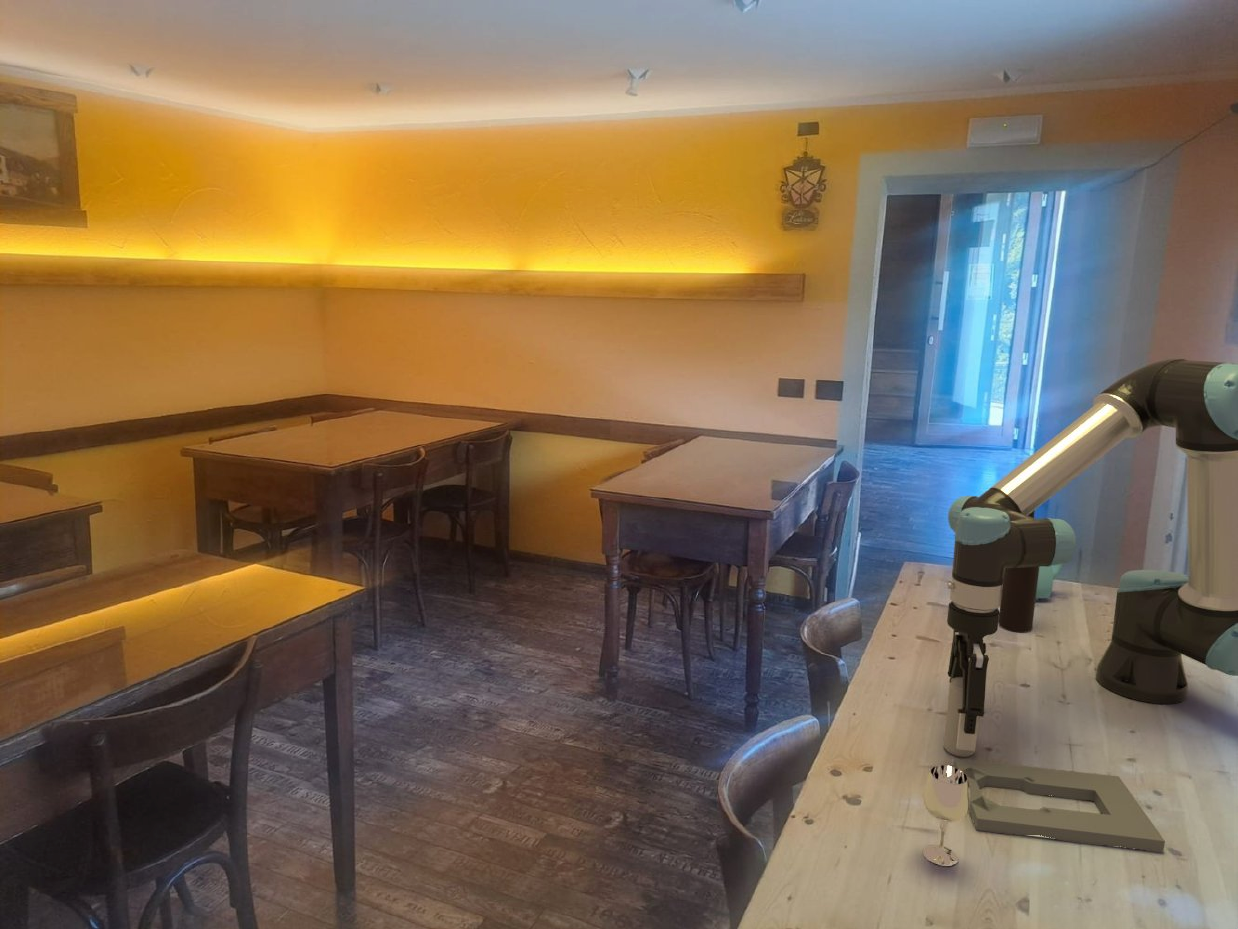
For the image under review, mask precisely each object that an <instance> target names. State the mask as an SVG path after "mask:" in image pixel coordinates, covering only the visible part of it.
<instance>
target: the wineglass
mask: <svg viewBox="0 0 1238 929" xmlns="http://www.w3.org/2000/svg"><path fill="white" fill-rule="evenodd" d="M922 798H923V805H924V807H925V809H926V811H927V812H928V814H929V815H930V816H932V817H933V818H935V819H936V820H938V821H940V822H939V829H940V838H939V839H940V840H939V844H930V845H927V846H925V847H924V848H923V850H922V853H923V854H922V855H923V856H924V858H925V857H926V858H925V860H927V861H928V862H930V861H932V862H934V863H936V864H938V863H939V864H940V865H944V864H945V865H949V864H950V862H952V861H958V862H959V857H957V856H958V854H956V852H955V851H954V850H952V849H950V848H949V847H947V846H944V843H945V836H946V833H947V831H948V826H949V824H948V823H951V824H952V823H957V822H960V821H962V820H963V819H964V818H966V817H967V815H968V813H969V807H970V787H969V781H968V777H967V775H966V774H965V773H964V772H963V771H961V770H960V769H957V768H955V767H954V766H951V765H946V764H945V765H944V764H938V765H933V766H932V767H931V768H930V771H929V773H928V774H927V778H926V780H925V783H924V787H923V794H922ZM952 863H953V862H952ZM945 865H944V866H945Z"/></svg>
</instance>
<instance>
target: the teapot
mask: <svg viewBox="0 0 1238 929" xmlns="http://www.w3.org/2000/svg"><path fill="white" fill-rule="evenodd" d="M1062 567H1063V564H1059V565H1052V566H1050V567H1045V566H1040V567H1039V576H1038V584H1037V592H1036V600H1035V602H1039V601H1040V600H1039V599H1049V598H1050V597H1051V594H1052V592H1053V587H1054V586H1053V584H1054V583H1053V582H1054V580H1056V579H1057V577H1059V575H1060V574H1061V573H1060V572H1061V571H1062Z"/></svg>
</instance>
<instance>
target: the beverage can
mask: <svg viewBox="0 0 1238 929" xmlns="http://www.w3.org/2000/svg"><path fill="white" fill-rule="evenodd" d="M947 698H948V699H947V706H946V707H947V708H946V716H945V725H944V726H945V727H944V737H943V747H944V749H945V750H946V751H947V753H949V754H951V755H952V756H955V757H960V758H968V757H971V756H972V755H973V754H974V753H975V751H976V750H975V751H969V750H960V749H957V747H956V745H957V735H958V726H959V716H960V713H958V709H962V708H963V677H957V678H953V679H952V680H951V683H950V682H949V688H948V697H947Z"/></svg>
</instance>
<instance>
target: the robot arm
mask: <svg viewBox="0 0 1238 929" xmlns="http://www.w3.org/2000/svg"><path fill="white" fill-rule="evenodd" d="M1160 426H1161V427H1163V426H1165V427H1169V428H1174V429H1175V445H1176V447H1177V448H1178V449H1179V450H1180V451H1181V452H1183V453H1185V455H1186V496H1187V499H1186V501H1187V504H1186V505H1187V574H1183V573H1180V572H1175V571H1167V570H1157V569H1156V570H1155V569H1136V570H1129V571H1126V572H1125V573H1123V574H1122V575H1121V576H1120V580H1119V584H1118V589H1117V590H1116V598H1115V599H1116V601H1115V608H1114V618H1113V623H1112V624H1113V626H1112V632H1111V640H1110V642H1109V644H1108V646H1107V647H1106V650H1105V651H1104V653H1103V655H1102V657H1101V659H1100V660H1099V662H1098V663H1097V665H1096V666H1097V667H1096V673H1095V679H1096V681H1097V682H1098V683H1099V684H1100V685H1101V686H1103V687H1104V688H1106V689H1107V690H1109V691H1110V692H1113V693H1115V694H1118V695H1120V696H1123V697H1126V698H1130V699H1132V700H1137V701H1140V702H1146V703H1152V704H1162V705H1165V704H1169V705H1170V704H1177V703H1181V702H1183V701H1184V700H1186V698H1187V695H1188V688H1189V685H1188V680H1187V676H1186V671H1185V667H1184V663H1183V657H1182V655H1183V656H1184V657H1185V656H1186V657H1187V658H1189V659H1192V660H1194V661H1196V662H1198V663H1201V664H1203V665H1205V666H1206V667H1207V668H1209V669H1211V670H1213V671H1219V672H1220V673H1222V674H1225V675H1228V676H1232V677H1234V676H1235V677H1237V676H1238V363H1235V362H1221V361H1219V362H1218V361H1203V360H1190V359H1183V358H1171V359H1163V360H1158V361H1155V362H1153V363H1150V364H1147V365H1144V366H1142V367H1140V368H1138V369H1136V370H1133V371H1132V372H1130V373H1128V374H1127V375H1124V376H1123V377H1121V378H1120V379H1119V380H1117V381H1115V382H1114V383H1112V384H1111V385H1110V386H1108V387H1107V388H1106V389H1104V390H1103V391H1102V392H1100V393H1099V394H1098V395H1097V396H1095V397H1094V399H1093V403H1092V407H1091V408H1089V409H1088V410H1086V411H1085V412H1084V413H1083V414H1082V415H1080V416H1079V417H1078V418H1077V419H1076V420H1074V421H1073V422H1071V424H1069V425H1068V426H1067V427H1066V428H1064V429H1063V430H1062V431H1061V432H1059V433H1057V435H1055V436H1054V437H1053V438H1052V439H1050V440H1049V441H1047V442H1046V444H1044V445H1043V446H1041V447H1040V448H1038V450H1037V451H1035V452H1034V453H1032V454H1031V455H1030V456H1029V457H1027V459H1025V460H1024V461H1022V463H1020V464H1018V465H1017V466H1015V468H1014V469H1012V470H1011V471H1010V472H1009V473H1007V474H1006V475H1005V476H1004V477H1002V478H1001V479H1000V480H999V481H998V482H996V483H995V484H993V486H991V487H990V488H989V489H988V490H986V491H985V492H983V493H982V494H980V495H979V496H977V495H964V496H960V497H958V498H957V499H956V500H954V501H953V503H952V504H951V506H950V508H949V510H948V513H947V520H948V524H949V528H950V529H951V530H952V531H953V532H954V545H953V547H954V548H953V560H952V572H951V574H952V575H951V582H948V583H947V586H946V588H948V589H949V590H950V593H949V599H950V602H949V603H948V609H947V620H946V622H947V625H948V626H949V627H950V628H951V629H952V630H953V635H952V636H953V637H952V643H951V649H950V650H951V651H950V657H949V664H948V671H947V676H948V677H949V684H950V683H951V680H952V679H953V678H957V677H963V708H962V709H958V713H960V716H959V726H958V735H957V745H956V747H957V749H960V750H969V751H976V746H977V736H978V728H979V727H978V726H979V718H980V717H981V718H983V717H984V715H985V702H986V701H985V700H986V699H985V698H986V685H987V670H988V665H989V661H990V657H989V655H988V654H986V652H987V645H986V644H987V643H986V642H984V638H985V637H986V636H991V635H992V636H993V635H994V634H995V633H996V632H998V628H999V613H1000V606H1001V598H1002V588H1003V577H1004V571H1005V568H1022V567H1040V566H1045V567H1050V566H1052V565H1059V564H1066V563H1068V562H1070V561H1071V560H1072V559H1073V557H1074V556H1075V553H1076V551H1077V550H1076V548H1077V536H1076V533H1075V531H1074V528H1072V526H1071V525H1070V524H1069V523H1068V522H1067V521H1066V520H1063V519H1062V518H1061V519H1060V518H1050V517H1045V518H1035V517H1034V518H1032V517H1030V516H1028V515H1029V514H1030V513H1031V512H1033V511H1034V510H1035V511H1036V510H1037V509H1038V508H1039V507H1040V506H1042V504H1044V503H1045V502H1046V501H1048V500H1050V498H1052V497H1053V496H1054V495H1056V493H1058V492H1059V491H1060V490H1062V489H1063V488H1064V487H1066V486H1067V485H1068V484H1069V483H1070V482H1072V481H1073V480H1074V479H1076V478H1077V477H1078V476H1080V475H1081V474H1082V473H1084V471H1085V470H1087V469H1088V468H1090V466H1092V465H1093V464H1095V463H1096V462H1097V461H1098V460H1100V459H1101V458H1102V457H1103V456H1104V455H1106V454H1107V453H1108V452H1110V451H1111V450H1112V449H1113V448H1115V446H1117V445H1118V444H1120V443H1121V442H1122V441H1123V440H1124V439H1126V438H1127V439H1128V438H1129V439H1130V438H1131V439H1133V438H1137V437H1138V436H1140V435H1141V434H1142V433H1143V432H1145V431H1146V430H1149V429H1150V428H1154V427H1155V428H1156V427H1160Z"/></svg>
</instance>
